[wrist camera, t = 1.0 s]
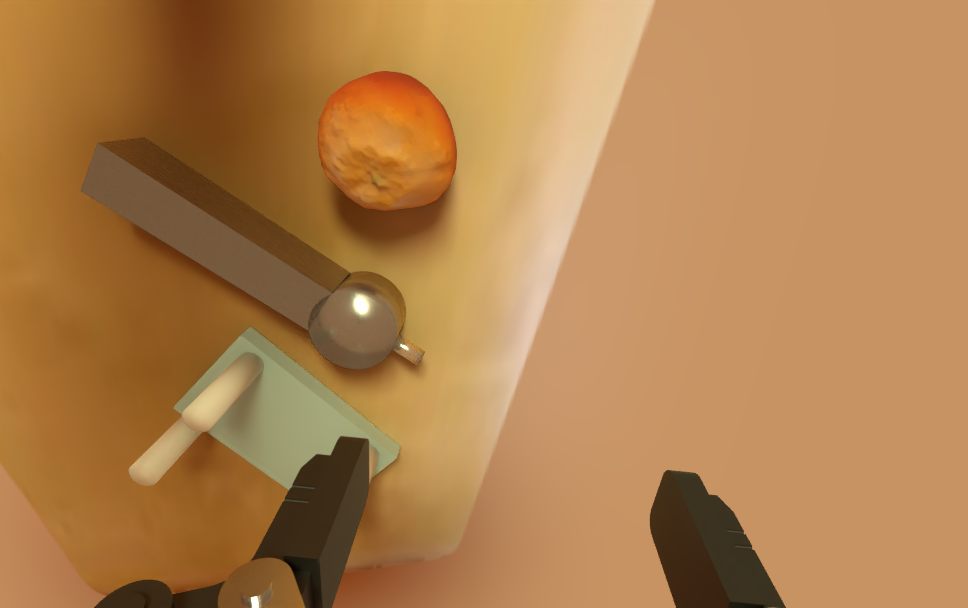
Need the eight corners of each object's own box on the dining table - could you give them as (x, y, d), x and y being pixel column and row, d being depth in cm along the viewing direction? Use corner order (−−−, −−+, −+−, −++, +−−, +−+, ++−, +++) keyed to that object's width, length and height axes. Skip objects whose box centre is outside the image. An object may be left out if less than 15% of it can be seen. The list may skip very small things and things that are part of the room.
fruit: (476, 52, 28) (453, 134, 23) (463, 161, 34) (442, 243, 29) (339, 24, 27) (288, 101, 23) (352, 139, 34) (314, 218, 29)
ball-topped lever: (122, 194, 33) (74, 206, 30) (151, 121, 31) (104, 125, 28) (404, 371, 38) (393, 400, 35) (445, 318, 36) (439, 342, 33)
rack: (184, 397, 40) (106, 469, 32) (250, 326, 37) (183, 386, 29) (329, 502, 44) (292, 588, 37) (400, 446, 41) (376, 527, 34)
